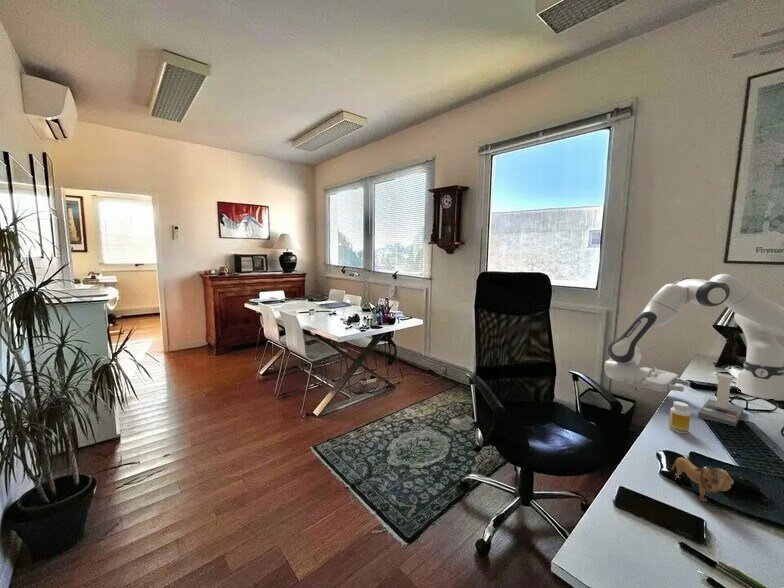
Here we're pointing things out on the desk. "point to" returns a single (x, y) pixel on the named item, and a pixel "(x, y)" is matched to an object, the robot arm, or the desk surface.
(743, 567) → the desk surface
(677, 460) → the lion figurine
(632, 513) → the desk surface
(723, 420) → the breaker panel
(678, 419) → the supplement bottle
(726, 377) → the lever
